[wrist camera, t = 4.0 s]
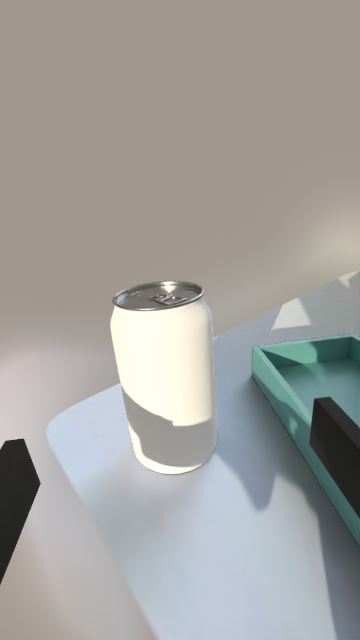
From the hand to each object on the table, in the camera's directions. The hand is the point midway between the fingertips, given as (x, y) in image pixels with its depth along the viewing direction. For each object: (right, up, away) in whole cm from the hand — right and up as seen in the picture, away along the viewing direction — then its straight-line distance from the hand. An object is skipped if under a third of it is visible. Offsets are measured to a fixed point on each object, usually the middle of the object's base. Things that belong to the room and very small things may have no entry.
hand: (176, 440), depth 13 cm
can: (0, -4, +9) cm, 10 cm away
